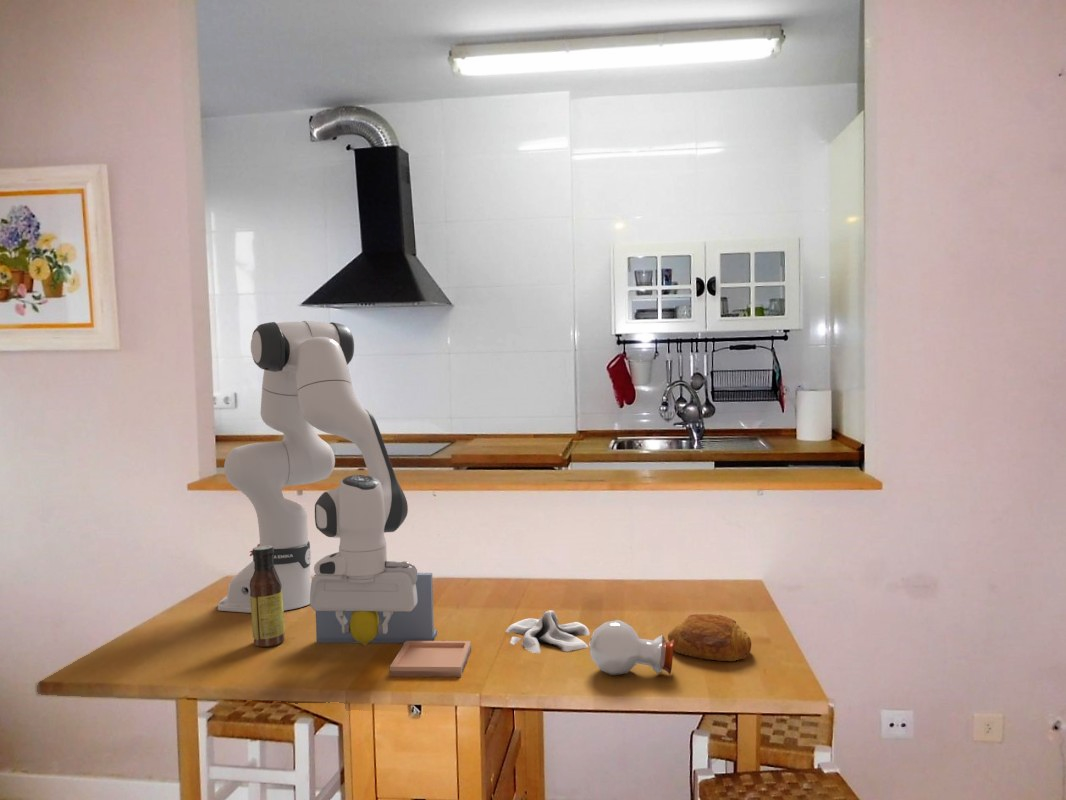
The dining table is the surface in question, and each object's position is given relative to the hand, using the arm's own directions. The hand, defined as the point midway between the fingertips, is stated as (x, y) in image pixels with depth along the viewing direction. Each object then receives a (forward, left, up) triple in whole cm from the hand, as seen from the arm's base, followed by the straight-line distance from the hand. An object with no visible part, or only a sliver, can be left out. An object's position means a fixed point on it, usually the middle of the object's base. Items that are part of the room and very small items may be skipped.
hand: (364, 632), depth 146 cm
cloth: (+34, +12, -6) cm, 37 cm away
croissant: (+67, +6, -6) cm, 67 cm away
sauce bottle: (-23, +9, -6) cm, 25 cm away
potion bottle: (+51, -5, -6) cm, 51 cm away
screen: (-1, +11, -5) cm, 13 cm away
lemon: (0, 0, -3) cm, 3 cm away
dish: (+13, -1, -5) cm, 14 cm away
